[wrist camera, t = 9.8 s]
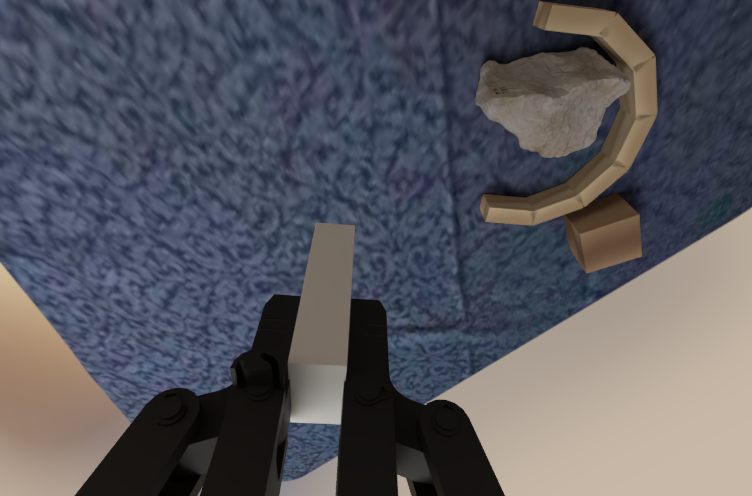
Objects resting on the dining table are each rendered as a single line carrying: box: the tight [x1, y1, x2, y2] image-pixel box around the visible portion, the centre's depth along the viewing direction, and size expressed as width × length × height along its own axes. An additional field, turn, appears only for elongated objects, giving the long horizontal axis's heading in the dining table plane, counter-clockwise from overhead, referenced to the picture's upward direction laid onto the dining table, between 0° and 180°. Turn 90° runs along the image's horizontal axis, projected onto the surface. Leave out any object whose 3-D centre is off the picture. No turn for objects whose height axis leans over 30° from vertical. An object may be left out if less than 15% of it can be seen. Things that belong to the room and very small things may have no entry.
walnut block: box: [564, 193, 642, 273], centre depth 38 cm, size 5×5×4 cm
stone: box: [475, 47, 631, 158], centre depth 30 cm, size 8×10×6 cm
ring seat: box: [479, 1, 657, 225], centre depth 33 cm, size 17×11×2 cm, turn 174°
